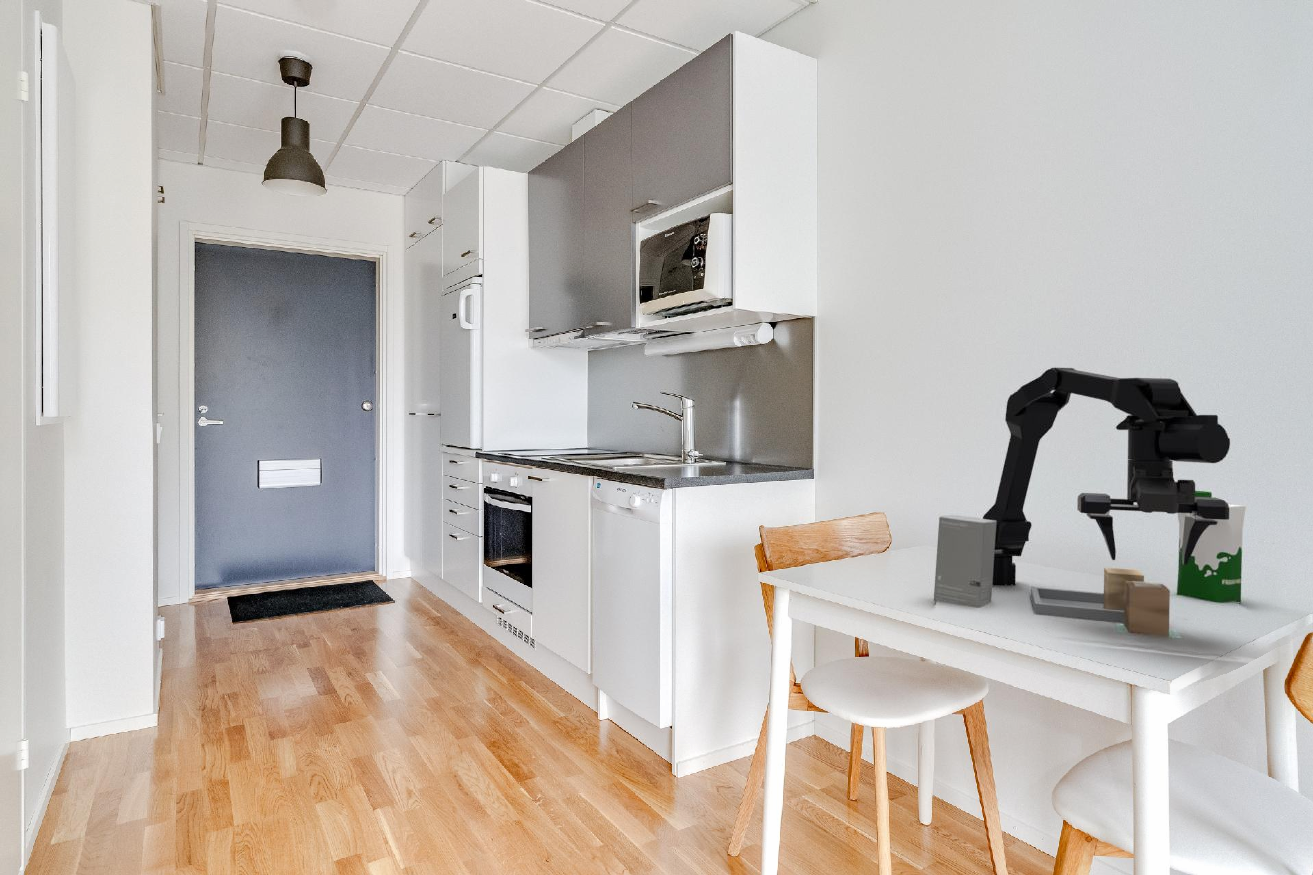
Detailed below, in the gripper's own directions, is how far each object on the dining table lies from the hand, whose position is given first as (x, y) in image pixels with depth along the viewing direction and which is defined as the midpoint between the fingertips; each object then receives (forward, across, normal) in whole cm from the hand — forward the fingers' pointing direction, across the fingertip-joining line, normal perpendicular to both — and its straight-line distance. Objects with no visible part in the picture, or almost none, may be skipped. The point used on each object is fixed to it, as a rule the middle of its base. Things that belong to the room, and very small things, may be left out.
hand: (1148, 562), depth 113 cm
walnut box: (+11, 0, 0) cm, 11 cm away
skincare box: (+12, -26, +9) cm, 30 cm away
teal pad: (+11, 0, 0) cm, 11 cm away
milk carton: (+12, +15, +32) cm, 37 cm away
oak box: (+11, -2, +11) cm, 16 cm away
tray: (+11, -6, +11) cm, 17 cm away
